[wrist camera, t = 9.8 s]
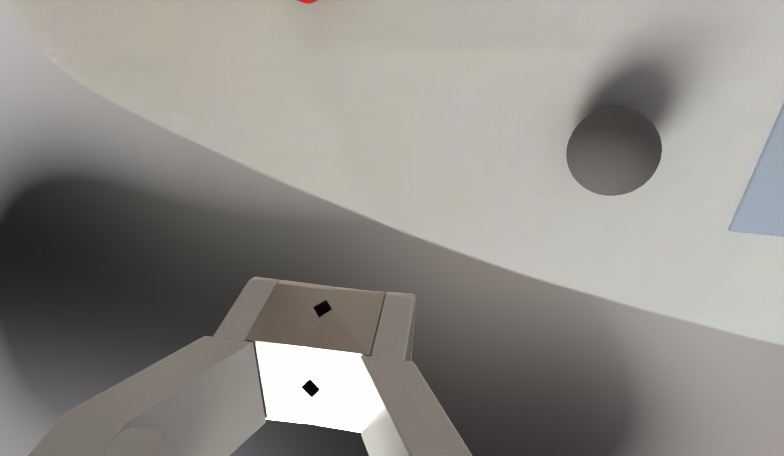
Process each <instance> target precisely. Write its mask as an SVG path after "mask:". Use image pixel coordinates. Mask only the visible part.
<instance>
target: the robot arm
mask: <svg viewBox="0 0 784 456" xmlns="http://www.w3.org/2000/svg"><path fill="white" fill-rule="evenodd" d="M414 314H415V295H414V294H407V293H394V292H376V291H367V290H358V289H348V288H339V287H332V286H324V285H317V284H309V283H302V282H294V281H286V280H276V279H268V278H260V277H254V278H252V279H251V280H249V281H248V283H247V284H246V286H245V287H244V289H243V291H242V292H241V294H240V295H239V297H238V298H237V300H236V302H235V303H234V305H233V306H232V308H231V309H230V311H229V313H228V314H227V316H226V317H225V319H224V320H223V322H222V323H221V325H220V327H219V328H218V330H217V331H216V333H215V334H214V336H213V337H209V336H204V337H202V338H200V339H199V340H197V341H195V342H193V343H191V344H189V345H188V346H186V347H184V348H182V349H180V350H178V351H177V352H175V353H173V354H171V355H169V356H168V357H166V358H164V359H162V360H160V361H159V362H157V363H155V364H153V365H151V366H149V367H148V368H146V369H144V370H142V371H141V372H139V373H137V374H135V375H133V376H131V377H129V378H128V379H126V380H124V381H122V382H120V383H119V384H117V385H115V386H113V387H111V388H110V389H108V390H106V391H104V392H102V393H100V394H99V395H97V396H95V397H93V398H91V399H90V400H88V401H86V402H84V403H82V404H81V405H79V406H77V407H75V408H73V409H71V410H70V411H68V412H66V413H64V414H63V415H62V416H61V418H60V419H59V420H58V421H57V422H56V423H55V425H54V426H53V427H52V428H51V430H50V431H49V432H48V433H47V434H46V435H45V436H44V438H43V439H42V440H41V441H40V442H39V443H38V445H37V446H36V447H35V448H34V449H33V451H32V452H31V453H30V454H29V455H28V456H229V455H230V454H231V453H232V452H234V451H235V450H236V449H237V448H238V447H239V446H240V445H241V444H242V443H243V442H245V440H247V439H248V438H249V437H250V436H251V435H252V434H253V433H255V431H257V430H258V429H259V428H260V427H261V426H262V425H263V424H264V423H266V420H265V419H268V420H277V421H286V422H295V423H305V424H314V425H319V426H325V427H331V428H337V429H343V430H349V431H355V432H361V435H362V438H363V441H364V443H365V446H366V449H367V452H368V454H369V456H472V454H471V453H470V451H469V450H468V448H467V446H466V445H465V443H464V442H463V440H462V438H461V437H460V435H459V434H458V432H457V430H456V429H455V427H454V426H453V424H452V423H451V421H450V419H449V418H448V417H447V415H446V413H445V411H444V410H443V408H442V407H441V405H440V403H439V402H438V400H437V399H436V397H435V395H434V394H433V392H432V391H431V389H430V387H429V386H428V384H427V383H426V381H425V379H424V378H423V376H422V375H421V373H420V371H419V370H418V368H417V367H416V365H415V364H414V362H411V354H412V342H413V328H414Z"/></svg>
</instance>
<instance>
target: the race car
mask: <svg viewBox="0 0 784 456" xmlns="http://www.w3.org/2000/svg"><path fill="white" fill-rule="evenodd" d="M298 1H300V2H303V3H307V4H309V3H313V2H315V1H317V0H298Z"/></svg>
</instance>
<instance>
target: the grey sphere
mask: <svg viewBox="0 0 784 456" xmlns="http://www.w3.org/2000/svg"><path fill="white" fill-rule="evenodd" d="M661 152H662V145H661V140H660V136H659V133H658V131H657V130H656V128H655V126H654V125H653V124H652V122H651V121H650V120H649V119H647V118H646V117H645V116H644V115H642V114H640V113H638V112H636V111H634V110H630V109H626V108H608V109H603V110H600V111H597V112H595V113H593V114H591V115H589V116H588V117H586V118H585V119H584V120H583V121H582V122H581V123H579V125H578V126H577V127H576V128H575V130H574V131H573V133H572V135H571V137H570V139H569V142H568V146H567V163H568V167H569V169H570V171H571V173H572V175H573V177H574V178H575V179H576V181H577V182H578V183H579V184H580V185H582V186H583V187H584V188H586V189H588V190H590V191H592V192H594V193H597V194H601V195H608V196H613V195H621V194H626V193H629V192H631V191H634V190H636V189H637V188H639V187H641V186H642V185H643V184H645V183H646V182H647V181H648V180H649V179H650V178H651V177H652V175H653V174H654V172H655V171H656V169H657V167H658V165H659V162H660V159H661Z"/></svg>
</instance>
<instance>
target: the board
mask: <svg viewBox="0 0 784 456" xmlns="http://www.w3.org/2000/svg"><path fill="white" fill-rule="evenodd" d="M729 231H733V232H743V233H753V234H763V235H773V236H783V237H784V105H783V107H782V109H781V111H780V114H779V116H778V118H777V121H776V123H775V125H774V127H773V130H772V132H771V134H770V136H769V139H768V141H767V143H766V146H765V148H764V150H763V152H762V155H761V157H760V159H759V161H758V164H757V166H756V168H755V171H754V173H753V175H752V177H751V180H750V182H749V184H748V187H747V189H746V191H745V193H744V196H743V198H742V200H741V202H740V205H739V207H738V209H737V212H736V214H735V216H734V218H733V221H732V223H731V225H730V227H729Z"/></svg>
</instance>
